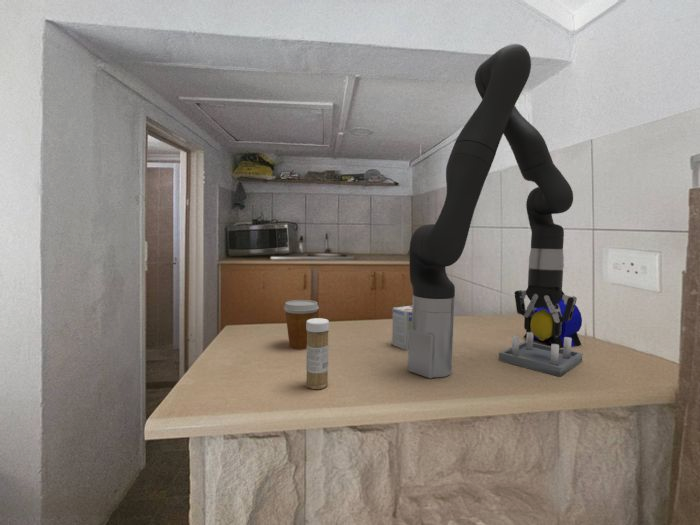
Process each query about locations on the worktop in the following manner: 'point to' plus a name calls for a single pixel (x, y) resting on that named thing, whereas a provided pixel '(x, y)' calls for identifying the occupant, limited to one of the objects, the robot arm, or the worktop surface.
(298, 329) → the disposable coffee cup
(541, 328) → the lemon
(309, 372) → the sprinkles bottle
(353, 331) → the worktop surface
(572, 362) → the tray
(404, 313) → the light bulb box
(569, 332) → the alarm clock
